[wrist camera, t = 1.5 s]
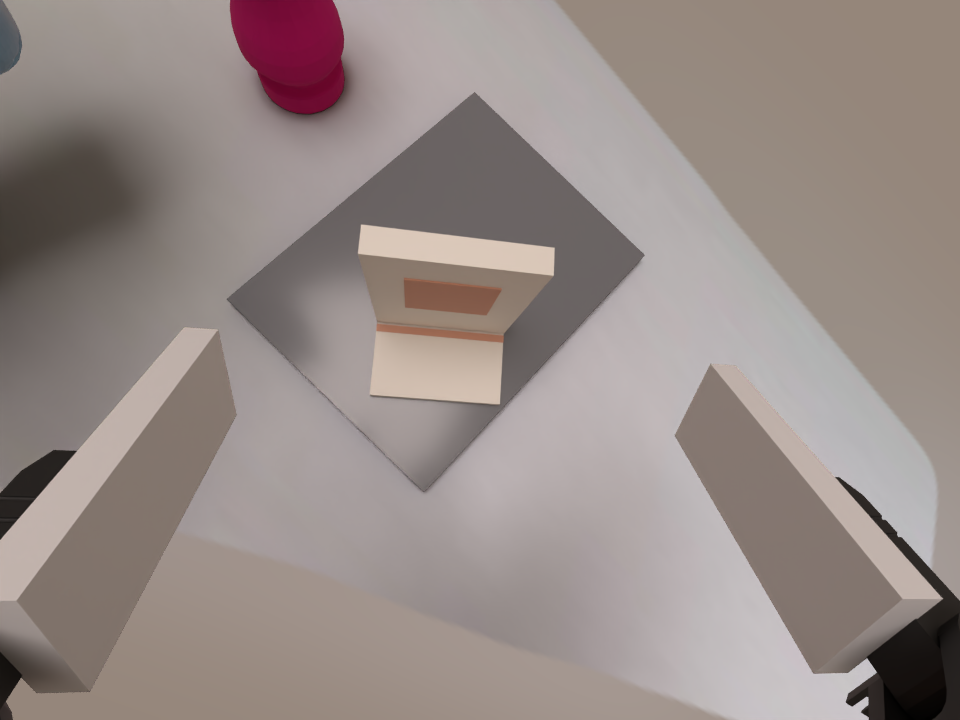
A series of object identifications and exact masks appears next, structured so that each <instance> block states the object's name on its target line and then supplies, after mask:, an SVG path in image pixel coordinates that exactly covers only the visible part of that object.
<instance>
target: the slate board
mask: <svg viewBox="0 0 960 720" xmlns="http://www.w3.org/2000/svg"><path fill="white" fill-rule="evenodd" d="M361 225H370V226H378V227H386V228H395V229H403V230H411V231H420V232H428V233H436V234H445V235H453V236H461V237H469V238H478V239H486V240H494V241H503V242H511V243H519V244H528V245H536V246H544V247H553V248H555V253H554V276H553V277H552V278H551V279H550V281H549V282H548V283H547V284H546V285H545V286H544V288H543V289H542V290H541V291H540V292H539V293H538V295H537V296H536V297H535V298H534V299H533V300H532V302H531V303H530V304H529V305H528V306H527V307H526V309H525V310H524V311H523V312H522V313H521V314H520V315H519V317H518V318H517V319H516V320H515V321H514V322H513V324H512V325H511V326H510V327H509V328H508V329H507V331H506V332H505V333H504V341H503V355H502V374H501V393H500V404H499V405H489V404H475V403H461V402H448V401H434V400H421V399H407V398H394V397H380V396H370V387H371V377H372V367H373V358H374V348H375V339H376V328H377V320H376V316H375V312H374V309H373V305H372V302H371V298H370V295H369V291H368V288H367V284H366V281H365V277H364V274H363V270H362V267H361V263H360V260H359V256H358V248H359V239H360V230H361ZM643 256H644V254H643V253H642V252H641V251H640V250H639V249H638V248H637V247H636V246H635V245H634V244H633V243H631V242H630V241H629V240H628V239H627V238H626V237H625V236H624V235H623V234H622V233H621V232H620V231H619V230H618V229H617V228H616V227H615V226H614V225H613V224H612V223H611V222H610V221H609V220H607V219H606V218H605V217H604V216H603V215H602V214H601V213H600V212H599V211H598V210H597V209H596V208H595V207H594V206H593V205H592V204H591V203H590V202H589V201H588V200H587V199H586V198H585V197H583V196H582V195H581V194H580V193H579V192H578V191H577V190H576V189H575V188H574V187H573V186H572V185H571V184H570V183H569V182H568V181H567V180H566V179H565V178H564V177H563V176H562V175H561V174H559V173H558V172H557V171H556V170H555V169H554V168H553V167H552V166H551V165H550V164H549V163H548V162H547V161H546V160H545V159H544V158H543V157H542V156H541V155H540V154H539V153H538V152H537V151H535V150H534V149H533V148H532V147H531V146H530V145H529V144H528V143H527V142H526V141H525V140H524V139H523V138H522V137H521V136H520V135H519V134H518V133H517V132H516V131H515V130H514V129H513V128H511V127H510V126H509V125H508V124H507V123H506V122H505V121H504V120H503V119H502V118H501V117H500V116H499V115H498V114H497V113H496V112H495V111H494V110H493V109H492V108H491V107H490V106H489V105H487V104H486V103H485V102H484V101H483V100H482V99H481V98H480V97H479V96H478V95H477V94H476V93H475V92H474V93H473V94H472V95H471V96H469V97H468V98H467V99H466V100H465V101H463V102H462V103H461V104H460V105H459V106H457V107H456V108H455V109H454V110H453V111H451V112H450V113H449V114H448V115H447V116H445V117H444V118H443V119H442V120H441V121H439V122H438V123H437V124H436V125H435V126H433V127H432V128H431V129H430V130H429V131H427V132H426V133H425V134H424V135H423V136H422V137H420V138H419V139H418V140H417V141H416V142H414V143H413V144H412V145H411V146H410V147H408V148H407V149H406V150H405V151H404V152H402V153H401V154H400V155H399V156H398V157H396V158H395V159H394V160H393V161H392V162H390V163H389V164H388V165H387V166H386V167H384V168H383V169H382V170H381V171H380V172H378V173H377V174H376V175H375V176H374V177H372V178H371V179H370V180H369V181H368V182H366V183H365V184H364V185H363V186H362V187H360V188H359V189H358V190H357V191H356V192H354V193H353V194H352V195H351V196H350V197H348V198H347V199H346V200H345V201H344V202H342V203H341V204H340V205H339V206H338V207H336V208H335V209H334V210H333V211H332V212H330V213H329V214H328V215H327V216H326V217H324V218H323V219H322V220H321V221H320V222H318V223H317V224H316V225H315V226H314V227H312V228H311V229H310V230H309V231H308V232H306V233H305V234H304V235H303V236H302V237H300V238H299V239H298V240H297V241H296V242H294V243H293V244H292V245H291V246H290V247H288V248H287V249H286V250H285V251H284V252H282V253H281V254H280V255H279V256H278V257H276V258H275V259H274V260H273V261H272V262H270V263H269V264H268V265H267V266H266V267H264V268H263V269H262V270H261V271H260V272H259V273H257V274H256V275H255V276H254V277H253V278H251V279H250V280H249V281H248V282H247V283H245V284H244V285H243V286H242V287H241V288H239V289H238V290H237V291H236V292H235V293H233V294H232V295H231V296H230V297H229V298H227V300H228V301H229V302H230V303H231V304H232V305H233V306H234V307H235V308H236V309H237V310H238V311H239V312H240V313H241V314H242V315H243V316H244V317H245V318H246V319H247V320H248V321H249V322H250V323H251V324H252V325H253V326H254V327H255V328H256V329H258V330H259V331H260V332H261V333H262V334H263V335H264V336H265V337H266V338H267V339H268V340H269V341H270V342H271V343H272V344H273V345H274V346H275V347H276V348H277V349H278V350H279V351H280V352H281V353H282V354H283V355H284V356H285V357H286V358H287V359H288V360H289V361H290V362H291V363H292V364H293V365H294V366H295V367H296V368H297V369H298V370H299V371H300V372H301V373H302V374H303V375H305V376H306V377H307V378H308V379H309V380H310V381H311V382H312V383H313V384H314V385H315V386H316V387H317V388H318V389H319V390H320V391H321V392H322V393H323V394H324V395H325V396H326V397H327V398H328V399H329V400H330V401H331V402H332V403H333V404H334V405H335V406H336V407H337V408H338V409H339V410H340V411H341V412H342V413H343V414H344V415H345V416H346V417H347V418H348V419H349V420H350V421H351V422H353V423H354V424H355V425H356V426H357V427H358V428H359V429H360V430H361V431H362V432H363V433H364V434H365V435H366V436H367V437H368V438H369V439H370V440H371V441H372V442H373V443H374V444H375V445H376V446H377V447H378V448H379V449H380V450H381V451H382V452H383V453H384V454H385V455H386V456H387V457H388V458H389V459H390V460H391V461H392V462H393V463H394V464H395V465H396V466H397V467H398V468H400V469H401V470H402V471H403V472H404V473H405V474H406V475H407V476H408V477H409V478H410V479H411V480H412V481H413V482H414V483H415V484H416V485H417V486H418V487H419V488H420V489H421V490H422V491H423V492H425V490H426V489H427V488H428V487H429V486H430V485H431V484H432V483H433V482H434V481H435V480H436V479H437V478H438V477H439V475H440V474H441V473H442V472H443V471H444V470H445V469H446V468H447V467H448V466H449V465H450V464H451V463H452V461H453V460H454V459H455V458H456V457H457V456H458V455H459V454H460V453H461V452H462V451H463V450H464V449H465V448H466V446H467V445H468V444H469V443H470V442H471V441H472V440H473V439H474V438H475V437H476V436H477V435H478V434H479V433H480V431H481V430H482V429H483V428H484V427H485V426H486V425H487V424H488V423H489V422H490V421H491V420H492V419H493V417H494V416H495V415H496V414H497V413H498V412H499V411H500V410H501V409H502V408H503V407H504V406H505V405H506V404H507V402H508V401H509V400H510V399H511V398H512V397H513V396H514V395H515V394H516V393H517V392H518V391H519V390H520V388H521V387H522V386H523V385H524V384H525V383H526V382H527V381H528V380H529V379H530V378H531V377H532V376H533V375H534V373H535V372H536V371H537V370H538V369H539V368H540V367H541V366H542V365H543V364H544V363H545V362H546V361H547V360H548V358H549V357H550V356H551V355H552V354H553V353H554V352H555V351H556V350H557V349H558V348H559V347H560V346H561V344H562V343H563V342H564V341H565V340H566V339H567V338H568V337H569V336H570V335H571V334H572V333H573V332H574V331H575V329H576V328H577V327H578V326H579V325H580V324H581V323H582V322H583V321H584V320H585V319H586V318H587V317H588V316H589V314H590V313H591V312H592V311H593V310H594V309H595V308H596V307H597V306H598V305H599V304H600V303H601V302H602V300H603V299H604V298H605V297H606V296H607V295H608V294H609V293H610V292H611V291H612V290H613V289H614V288H615V287H616V285H617V284H618V283H619V282H620V281H621V280H622V279H623V278H624V277H625V276H626V275H627V274H628V273H629V271H630V270H631V269H632V268H633V267H634V266H635V265H636V264H637V263H638V262H639V261H640V260H641V259H642V258H643Z"/></svg>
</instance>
